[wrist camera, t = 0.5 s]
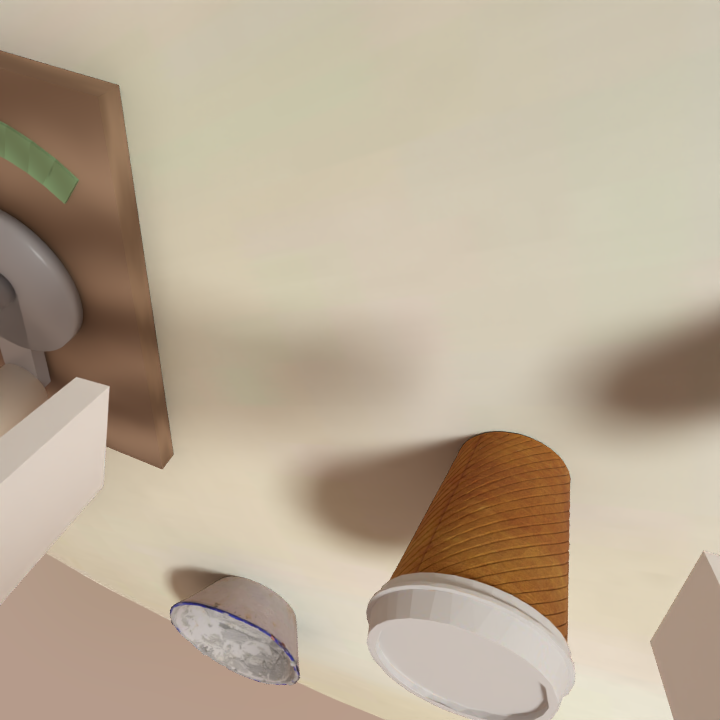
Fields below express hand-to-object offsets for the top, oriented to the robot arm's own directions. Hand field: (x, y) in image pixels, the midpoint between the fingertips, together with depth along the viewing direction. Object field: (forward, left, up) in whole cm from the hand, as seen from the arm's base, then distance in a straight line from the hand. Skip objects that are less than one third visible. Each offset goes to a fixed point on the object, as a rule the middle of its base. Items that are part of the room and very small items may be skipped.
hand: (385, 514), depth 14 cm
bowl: (+48, -12, -17) cm, 52 cm away
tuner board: (+15, -27, -17) cm, 35 cm away
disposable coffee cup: (+17, +4, -17) cm, 24 cm away
